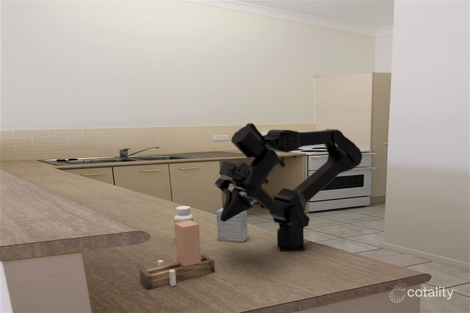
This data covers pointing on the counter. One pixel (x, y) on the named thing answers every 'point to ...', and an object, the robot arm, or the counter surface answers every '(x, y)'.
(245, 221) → the medicine box
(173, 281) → the pair of white blocks
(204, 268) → the wooden tray
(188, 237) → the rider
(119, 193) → the counter surface
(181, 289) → the counter surface
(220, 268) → the counter surface
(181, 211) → the supplement bottle
